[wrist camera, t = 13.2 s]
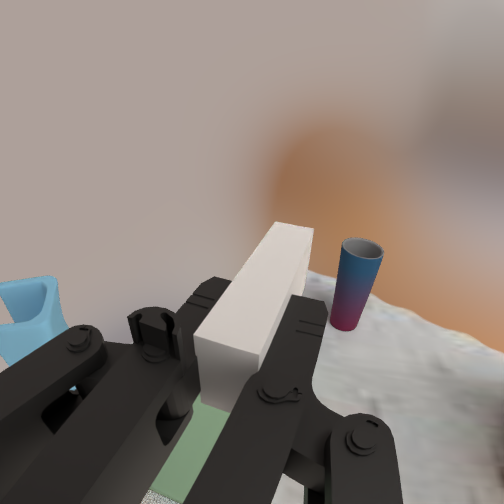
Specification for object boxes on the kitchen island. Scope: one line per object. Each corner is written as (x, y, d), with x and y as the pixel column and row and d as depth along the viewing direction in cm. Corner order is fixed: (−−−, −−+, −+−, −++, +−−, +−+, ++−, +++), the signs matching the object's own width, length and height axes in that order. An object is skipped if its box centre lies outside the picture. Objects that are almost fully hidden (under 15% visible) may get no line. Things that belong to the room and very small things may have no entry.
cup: (368, 322, 53) (391, 249, 46) (348, 340, 49) (371, 263, 42) (339, 305, 58) (356, 233, 50) (317, 321, 54) (333, 245, 46)
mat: (238, 525, 23) (238, 523, 22) (111, 467, 27) (107, 464, 27) (310, 330, 51) (311, 325, 51) (221, 308, 56) (221, 303, 55)
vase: (56, 397, 34) (-3, 282, 25) (105, 392, 37) (59, 273, 27) (56, 443, 28) (-24, 332, 18) (110, 440, 31) (47, 324, 21)
